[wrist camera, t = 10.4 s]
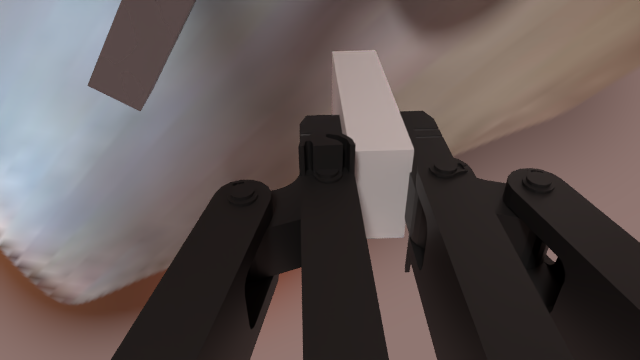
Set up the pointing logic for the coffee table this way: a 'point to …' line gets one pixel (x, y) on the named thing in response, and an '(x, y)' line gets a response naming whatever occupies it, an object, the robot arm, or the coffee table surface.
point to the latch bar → (138, 48)
